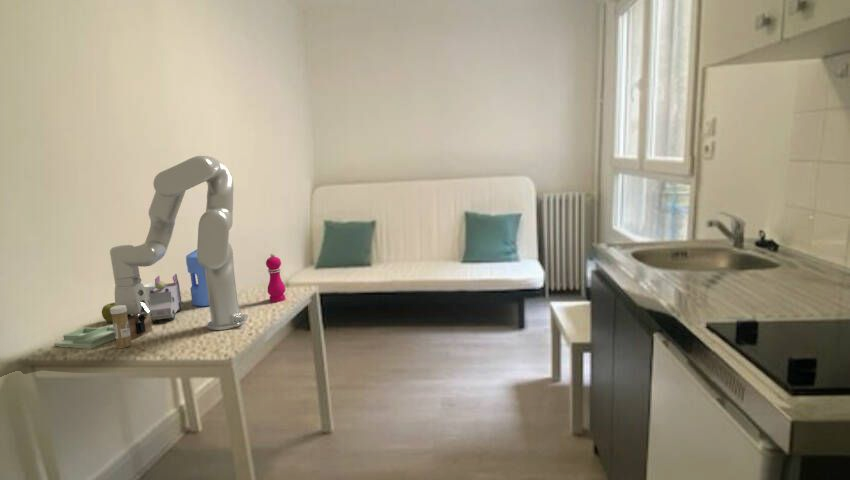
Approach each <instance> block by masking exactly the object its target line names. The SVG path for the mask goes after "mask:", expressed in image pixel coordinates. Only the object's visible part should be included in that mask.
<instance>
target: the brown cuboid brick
mask: <svg viewBox="0 0 850 480" xmlns="http://www.w3.org/2000/svg"><path fill="white" fill-rule="evenodd" d="M127 318H128V323H129V328H130V334H131V335H130V336H131V341H134V340H136V339H138V338H141V337H142V336H144V335H148V334H149V333H152V332H153V326H152V320H151V319H150V314H149V315H148V316H147V317H146V320H145V321H144V323H145V329H146V331H145V332H143V333H141V334H137V330H136V323H137V321H136V318H135V315H131V316H129V317H127ZM139 318H140V315H139Z"/></svg>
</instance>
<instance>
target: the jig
mask: <svg viewBox="0 0 850 480" xmlns="http://www.w3.org/2000/svg"><path fill="white" fill-rule="evenodd" d="M62 338H63V339H62V340H60V341H57V342H54V343H53V344H54V347H55V346H61V347H60V348H68V347H74V348H73V349H88V350H89V349H90V350H91V349H94V348H96V347H99V346H101V345H104V344H105V343H108V342H110V341H113V340H116V338H115V334H114V328H113V326H110V325H105V326H103V327H86V326H84V327H81V328H79V329H76V330H74V331H71V332H68V333H66V334H64V335H62Z"/></svg>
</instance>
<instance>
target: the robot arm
mask: <svg viewBox="0 0 850 480" xmlns="http://www.w3.org/2000/svg"><path fill="white" fill-rule="evenodd" d="M205 182H206V185H207V191H206V192H207V193H206V208H205V212H203V214H202V215H201V216H200V218H199V221H198V226H197V227H198V228H197V230H198V231H197V243H196V244H197V247H196V250H197V259H198V261H199V263H200V265H201V266H203V267H204V268H205V275H206V283H207V291H208V299H209V306H208V307H209V313H210V320H211V321H209V322H208V323H207V325H206V327H207V329H209V330H211V331H212V330H213V331H223V330H229V329H233V328H236V327H239V326H241V325H243V324H245V322H247V321H248V318H249V314H246V313H245V314H243V312H242V310H241V309H240V307H239V300H238V299H239V298H238V292H237V284H236V276H235V266H234V265H235V264H234V252H233V247H232V245H231V243H230V242H229V237H230V236H229V235H230V230H231V228H232V227H233V220H234V219H233V217H234V216H233V213H234V212H233V210H234V180H233V176H232V173H231V172H230V170H229V168H228V167H227V166H226V165H225V164H224V163H222V162H221V161H219V160H218V159H216V158H214V157H213V156H208V155H196V156H193V157H191V158H189V159H186V160H184V161H182V162H180V163H178V164H176V165H173V166H171V167H169V168H167V169H164V170H162V171H160V172H159V173H157V174H156V175H155V177H154V179H153V182H152V184H153V189H154V195H153V197H152V201H151V204H150V206H149V208H148V216H149V219H150V225H149V226H150V227H149V230H148V233H147V236H146V239H145V241H144V243H142V244H139V245H135V246H134V245H131V244H122V245H116V246H113V247H111V249H110V250H109V254H110V260H111V267H112V272H113V273H112V274H113V278H114V279H113V280H114V284H115V286H114V303H115V304H116V306H119V305H125V306H126V308H127V317H129V316H131V315H135V318H136V321H137V323H136V330H137V334H141V333H143V332H145V331H146V329H145V323H144V321H145V320H146V317H147V316H148V315H149V314H150V313H151V312H150V311H149V303H148V298H147V294H146V291H145V288H144V284H143V283H142V278H141V275H140V269H139V267H142V268H143V267H145V268H146V267H150V266H153V265H155V264H156V263H157V262H159V261H160V260H162V259H163V257H164V256H165V255H166V253H167V250H168V247H169V245H170V242H171V239H172V237H173V236H172V235H173V231H174V229H175V228H174V227H175V225H176V219H177V217H178V212H179V210H180V208H181V204H182V203H183V199H184V196H185V193H186V191H187V190H189V189H192V188H194V187H196V186H198V185H200V184H201V185H202V183H203V184H204V183H205ZM139 315H140V318H139Z"/></svg>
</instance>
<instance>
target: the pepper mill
mask: <svg viewBox="0 0 850 480" xmlns="http://www.w3.org/2000/svg"><path fill="white" fill-rule="evenodd" d="M275 255H276V254H275V253H274V252H273V253H270V257H268V258H267V259H266V261H265V266H266V268H268V269H267V272H268V273H269V283H268V286H267V294H268V295H269V302H271V303H278V302H280V303H281V302H282V301H285V300H286V295H285V292H286V286H285V284H284V282H283V280H282V278H281V266H282V260H281V258H279V257H277V256H275Z"/></svg>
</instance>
